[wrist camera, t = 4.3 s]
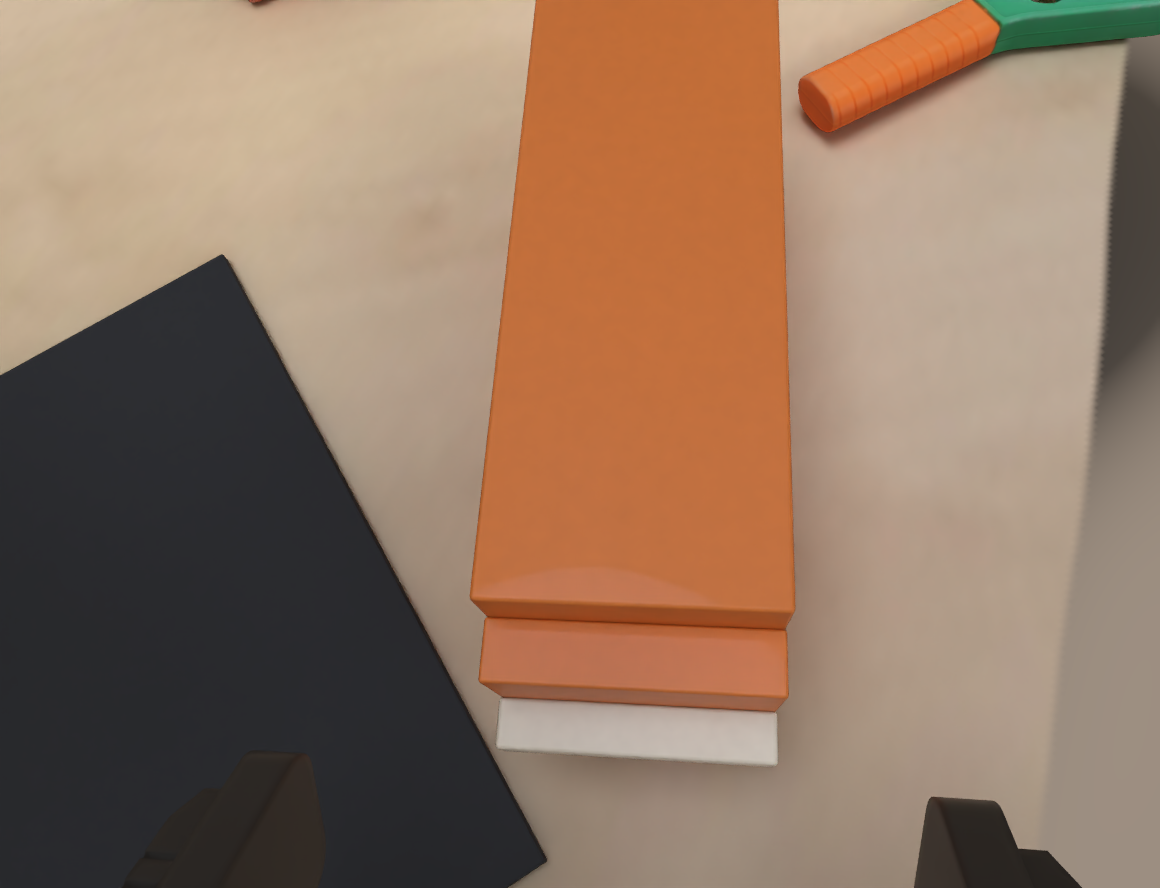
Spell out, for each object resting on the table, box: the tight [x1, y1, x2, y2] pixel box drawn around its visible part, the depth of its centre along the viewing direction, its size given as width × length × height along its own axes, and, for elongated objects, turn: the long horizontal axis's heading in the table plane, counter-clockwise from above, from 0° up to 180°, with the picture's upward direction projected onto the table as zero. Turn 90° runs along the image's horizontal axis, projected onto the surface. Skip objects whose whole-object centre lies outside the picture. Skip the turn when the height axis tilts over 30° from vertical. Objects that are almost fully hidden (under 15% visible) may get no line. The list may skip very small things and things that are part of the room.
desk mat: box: [0, 255, 547, 888], centre depth 23 cm, size 20×14×1 cm
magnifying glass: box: [798, 0, 1160, 132], centre depth 27 cm, size 15×6×2 cm, turn 118°
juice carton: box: [470, 0, 795, 767], centre depth 21 cm, size 17×6×8 cm, turn 177°
